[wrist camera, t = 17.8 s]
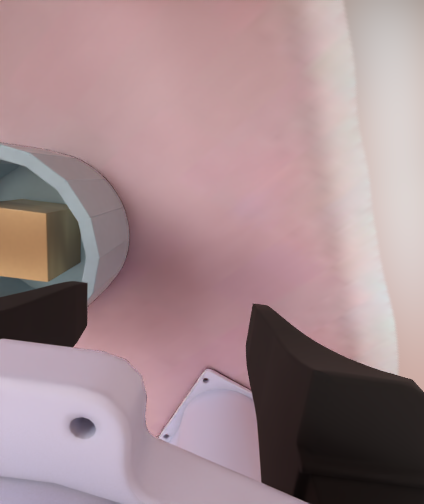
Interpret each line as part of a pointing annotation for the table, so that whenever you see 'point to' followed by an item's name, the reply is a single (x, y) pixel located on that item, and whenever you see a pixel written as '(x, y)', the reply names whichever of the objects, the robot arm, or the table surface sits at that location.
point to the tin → (81, 205)
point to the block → (37, 239)
